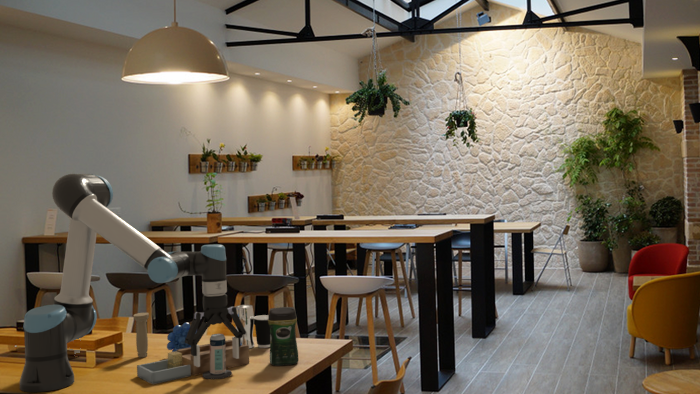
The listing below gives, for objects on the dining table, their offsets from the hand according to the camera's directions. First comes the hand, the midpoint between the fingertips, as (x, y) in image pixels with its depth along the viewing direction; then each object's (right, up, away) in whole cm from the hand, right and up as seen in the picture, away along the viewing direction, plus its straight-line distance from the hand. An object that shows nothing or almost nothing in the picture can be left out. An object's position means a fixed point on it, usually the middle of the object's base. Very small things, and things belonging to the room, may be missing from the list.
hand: (216, 362), depth 208 cm
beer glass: (+4, -4, +36) cm, 36 cm away
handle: (-31, -5, +26) cm, 41 cm away
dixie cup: (+10, -3, +36) cm, 38 cm away
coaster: (0, -4, 0) cm, 4 cm away
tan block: (-14, -1, +3) cm, 14 cm away
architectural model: (-56, -6, +30) cm, 63 cm away
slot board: (-3, -4, +11) cm, 13 cm away
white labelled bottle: (0, -4, 0) cm, 4 cm away
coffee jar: (+20, -4, +12) cm, 24 cm away
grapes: (-16, -4, +25) cm, 31 cm away
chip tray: (-17, -5, +1) cm, 17 cm away
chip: (-13, -2, +3) cm, 13 cm away
